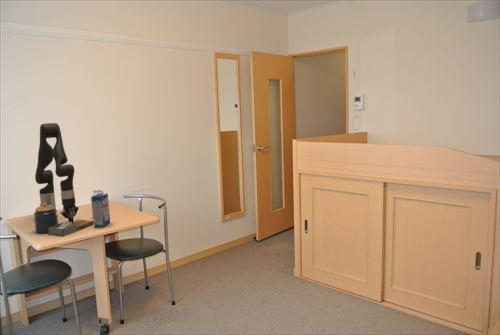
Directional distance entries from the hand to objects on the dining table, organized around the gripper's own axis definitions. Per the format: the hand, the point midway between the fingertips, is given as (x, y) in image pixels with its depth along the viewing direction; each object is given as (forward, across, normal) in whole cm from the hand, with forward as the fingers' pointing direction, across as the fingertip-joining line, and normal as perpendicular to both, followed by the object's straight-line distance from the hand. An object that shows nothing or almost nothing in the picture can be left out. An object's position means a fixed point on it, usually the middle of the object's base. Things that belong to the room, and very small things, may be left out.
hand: (71, 223), depth 248 cm
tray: (+4, +7, 0) cm, 8 cm away
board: (+4, -6, 0) cm, 7 cm away
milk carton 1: (+5, -28, -3) cm, 29 cm away
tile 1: (+3, +9, 0) cm, 9 cm away
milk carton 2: (+4, -12, +13) cm, 18 cm away
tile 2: (+2, +3, 0) cm, 4 cm away
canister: (+4, +6, -14) cm, 15 cm away
